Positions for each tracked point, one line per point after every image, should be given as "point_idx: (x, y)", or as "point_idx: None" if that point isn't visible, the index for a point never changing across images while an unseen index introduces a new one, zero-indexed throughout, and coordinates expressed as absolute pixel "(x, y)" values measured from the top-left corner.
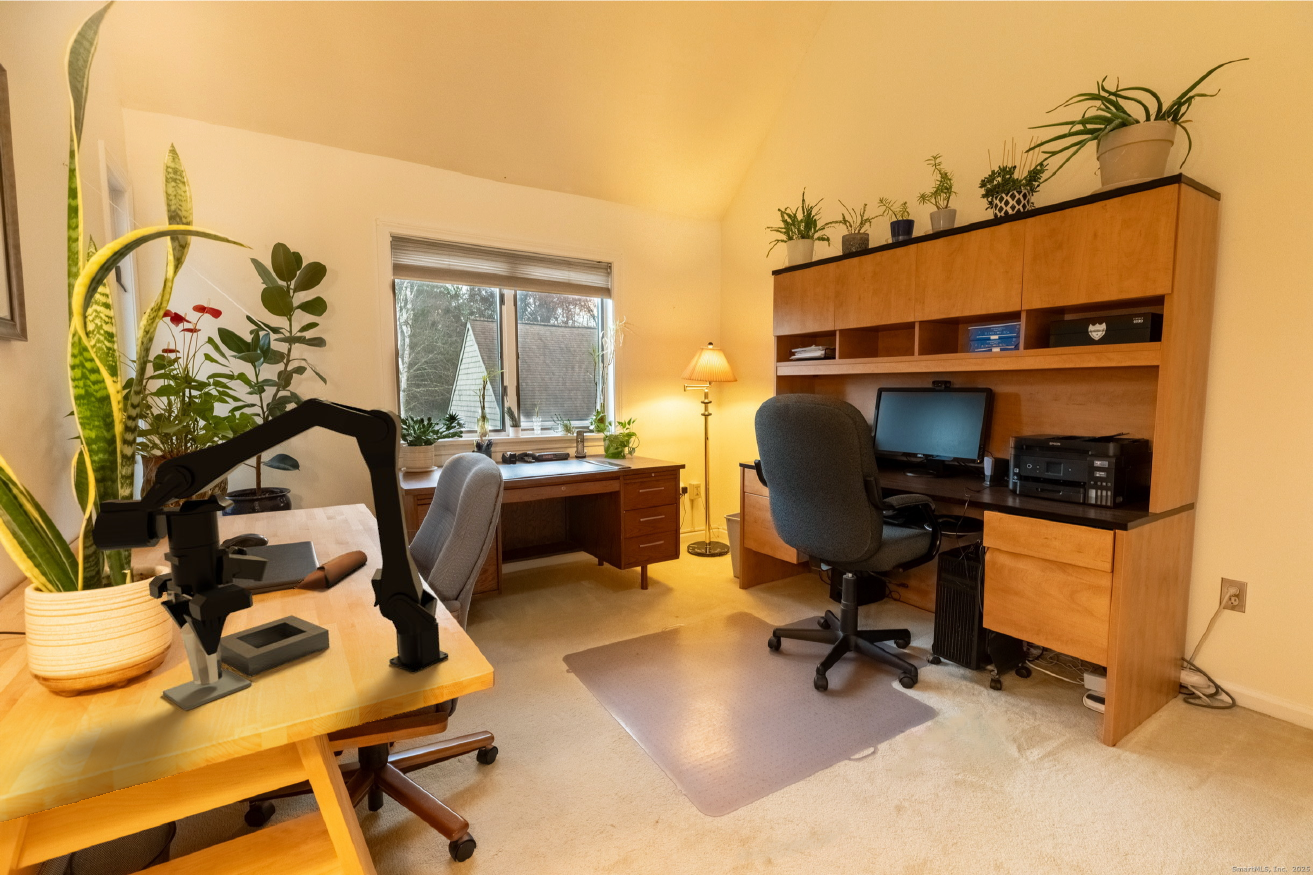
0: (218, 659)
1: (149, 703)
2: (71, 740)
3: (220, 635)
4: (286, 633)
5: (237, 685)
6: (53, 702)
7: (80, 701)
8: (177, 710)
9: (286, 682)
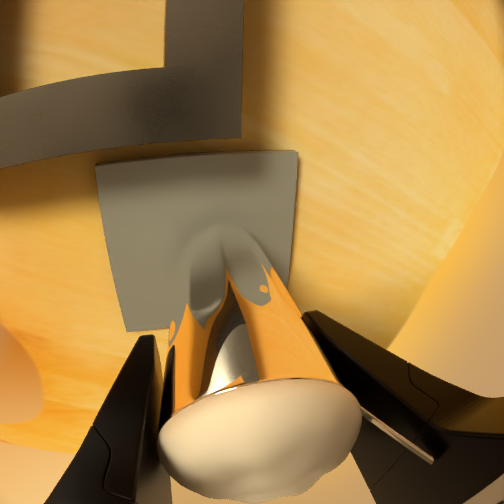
0: (274, 275)
1: (158, 349)
2: None
3: (385, 352)
4: None
5: (282, 188)
6: (26, 425)
7: (46, 409)
8: None
9: (365, 84)
